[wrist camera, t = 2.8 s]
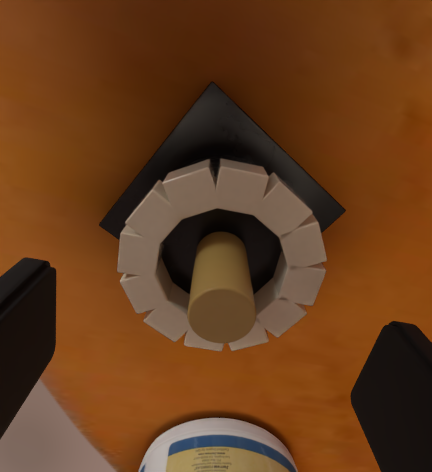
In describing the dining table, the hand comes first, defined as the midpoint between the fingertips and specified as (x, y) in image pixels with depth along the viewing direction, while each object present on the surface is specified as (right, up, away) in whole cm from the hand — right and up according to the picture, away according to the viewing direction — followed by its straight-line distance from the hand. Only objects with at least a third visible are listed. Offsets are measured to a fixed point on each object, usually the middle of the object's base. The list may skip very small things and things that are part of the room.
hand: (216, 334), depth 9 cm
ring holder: (0, +4, +8) cm, 9 cm away
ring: (0, +2, +4) cm, 4 cm away
